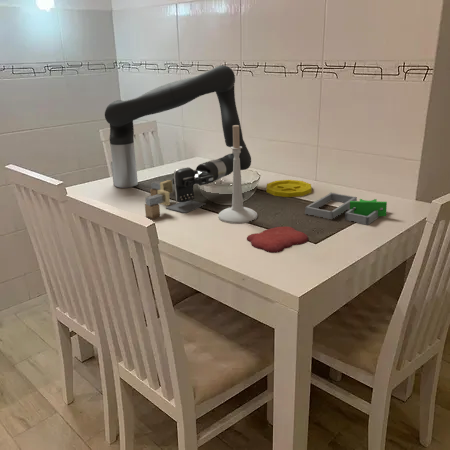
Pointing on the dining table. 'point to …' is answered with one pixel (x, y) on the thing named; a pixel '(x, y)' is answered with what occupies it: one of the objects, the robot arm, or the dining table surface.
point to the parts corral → (340, 209)
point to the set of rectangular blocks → (158, 198)
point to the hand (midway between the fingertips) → (179, 182)
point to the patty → (277, 239)
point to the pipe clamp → (368, 207)
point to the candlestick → (237, 190)
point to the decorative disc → (288, 188)
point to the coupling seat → (185, 206)
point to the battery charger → (183, 184)
